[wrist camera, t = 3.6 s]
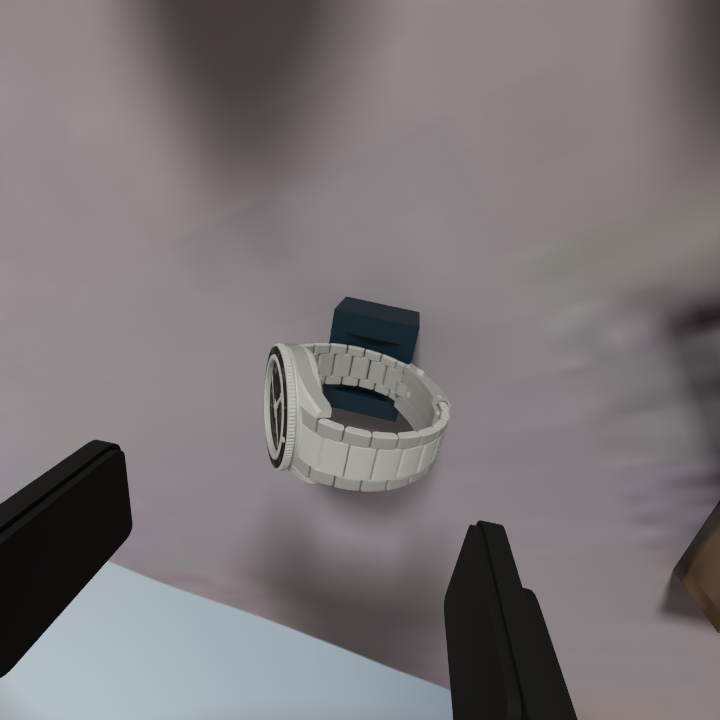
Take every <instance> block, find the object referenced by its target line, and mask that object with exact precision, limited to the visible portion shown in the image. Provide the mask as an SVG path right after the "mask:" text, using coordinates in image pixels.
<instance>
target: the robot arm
mask: <svg viewBox="0 0 720 720" xmlns="http://www.w3.org/2000/svg"><path fill="white" fill-rule="evenodd" d="M131 530H132V516H131V507H130V498H129V489H128V480H127V472H126V463H125V455H124V452H123V451H121V449H120V447H119V445H118V444H114V443H109V442H105V441H100V440H93V441H91V442H89V443H87V444H86V445H84V446H83V447H82V448H80V449H79V450H77V451H76V452H74V453H73V454H72V455H70V456H69V457H67V458H66V459H64V460H63V461H61V462H60V463H59V464H57V465H56V466H54V467H53V468H51V469H50V470H49V471H47V472H46V473H44V474H43V475H41V476H40V477H39V478H37V479H36V480H34V481H33V482H31V483H30V484H28V485H27V486H26V487H24V488H23V489H21V490H20V491H18V492H17V493H16V494H14V495H13V496H11V497H10V498H8V499H7V500H6V501H4V502H3V503H1V504H0V678H1V677H3V676H4V675H6V674H7V673H8V672H9V671H10V670H11V669H12V668H13V667H14V666H15V665H16V664H17V662H18V661H19V660H20V659H21V658H22V657H23V656H24V654H25V653H26V652H27V651H28V650H29V649H30V647H32V645H33V644H34V643H35V642H36V641H37V640H38V639H39V637H40V636H41V635H42V634H43V633H44V632H45V631H46V630H47V628H48V627H49V626H50V625H51V624H52V623H53V622H54V620H55V619H56V618H57V617H58V616H59V615H60V614H61V613H62V611H63V610H64V609H65V608H66V607H67V606H68V605H69V604H70V602H71V601H72V600H73V599H74V598H75V597H76V596H77V595H78V593H79V592H80V591H81V590H82V589H83V588H84V587H85V586H86V584H87V583H88V582H89V581H90V580H91V579H92V578H93V576H94V575H95V574H96V573H97V572H98V571H99V570H100V569H101V567H102V566H103V565H104V564H105V563H106V562H107V561H108V560H109V558H110V557H111V556H112V555H113V554H114V553H115V552H116V551H117V549H118V548H119V547H120V546H121V545H122V544H123V543H124V541H125V540H126V539H127V538H128V536H129V534H130V532H131ZM444 616H445V628H446V640H447V651H448V663H449V675H450V687H451V698H452V710H453V720H577V717H576V714H575V711H574V708H573V705H572V702H571V699H570V696H569V693H568V690H567V687H566V684H565V681H564V678H563V675H562V672H561V669H560V666H559V663H558V660H557V657H556V654H555V651H554V648H553V645H552V642H551V639H550V636H549V633H548V630H547V627H546V624H545V621H544V618H543V615H542V612H541V609H540V606H539V603H538V600H537V598H536V596H535V594H534V593H533V591H532V590H529V589H526V588H522V584H521V581H520V578H519V575H518V571H517V568H516V565H515V561H514V558H513V555H512V551H511V548H510V545H509V542H508V538H507V535H506V532H505V529H504V527H503V526H502V525H500V524H495V523H490V522H485V521H478V522H477V524H476V526H475V525H470V526H469V528H468V531H467V534H466V537H465V539H464V542H463V545H462V548H461V551H460V554H459V557H458V560H457V563H456V566H455V569H454V572H453V574H452V577H451V580H450V583H449V586H448V589H447V592H446V595H445V600H444Z"/></svg>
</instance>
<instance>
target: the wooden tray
mask: <svg viewBox="0 0 720 720" xmlns="http://www.w3.org/2000/svg"><path fill="white" fill-rule="evenodd" d="M674 572H675V573H676V575H677V576H678V577H679V579H680V580H681V582H682V583H683V584H684V586H685V587H686V589H687V590H688V591H689V593H690V594H691V596H692V597H693V598H694V600H695V601H696V603H697V604H698V605H699V607H700V608H701V610H702V611H703V612H704V614H705V615H706V617H707V618H708V619H709V621H710V622H711V624H712V625H713V626H714V628H715V629H716V631H717V632H718V633H720V502H719V504H718V505H717V506H716V508H715V509H714V511H713V512H712V514H711V515H710V517H709V518H708V520H707V521H706V523H705V524H704V526H703V527H702V529H701V530H700V532H699V533H698V535H697V536H696V538H695V539H694V541H693V542H692V544H691V545H690V547H689V548H688V550H687V551H686V552H685V554H684V555H683V557H682V558H681V560H680V561H679V563H678V564H677V566H676V567H675V569H674Z"/></svg>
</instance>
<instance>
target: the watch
mask: <svg viewBox="0 0 720 720" xmlns="http://www.w3.org/2000/svg"><path fill="white" fill-rule="evenodd" d="M418 331H419V312H415V311H411V310H406V309H401V308H397V307H392V306H387V305H383V304H378V303H374V302H369V301H364V300H360V299H355V298H350V297H345V298H344V299H343V301H342V302H341V303H340V304H339V305H338V306H337V307H336V308H335V310H334V317H333V323H332V329H331V336H330V342H329V343H313V344H302V345H296V344H295V343H286V344H278V343H276V344H274V346H273V347H272V349H271V352H270V354H269V358H268V363H267V369H266V378H265V393H264V416H265V431H266V440H267V447H268V452H269V456H270V460H271V462H272V465H273V467H274V468H275V470H277V471H282V470H286V469H288V470H289V471H290V472H291V473H292V474H293V475H295V476H296V477H297V478H299V479H301V480H302V481H304V482H306V483H308V484H315V483H322V484H325V485H329V486H332V485H333V484H334V487H336V488H340V489H346V490H353V491H359V490H361V491H363V492H375V491H384V490H385V489H386V490H393V489H397V488H401V487H404V486H406V485H407V483H408V484H411V483H413V482H415V481H417V480H419V479H420V478H422V477H423V476H424V474H427V473H428V472H429V471H430V470H431V468H432V467H433V465H434V463H435V461H436V458H437V455H438V452H439V449H440V446H441V443H442V439H443V436H444V433H445V430H446V427H447V423H448V420H449V416H450V414H449V411H450V404H451V403H450V402H449V400H448V399H447V397H446V396H445V395H444V393H443V392H442V391H441V389H440V388H439V387H438V386H437V385H436V384H435V382H434V381H433V380H432V379H430V378H429V377H428V376H427V375H426V374H425V372H424V371H423V370H421V369H419V368H417V367H416V366H415V365H413V364H412V363H410V362H411V359H412V355H413V351H414V347H415V343H416V339H417V335H418ZM322 384H323V385H322ZM331 407H335V408H340V409H344V410H348V411H352V412H356V413H361V414H365V415H369V416H373V417H377V418H382V419H386V420H390V421H394V422H395V421H396V417H397V413H398V411H399V412H400V413H401V414H402V415H403V416H404V417H405V419H406V420H407V421H408V422H409V424H410V425H411V426H412V428H413V430H414V431H410V432H399V433H398V435H396V434H394V433H386V432H373V433H372V435H371V432H369V431H367V430H362V429H358V428H354V427H350V426H349V427H346V429H345V431H344V426H343V425H342V424H339V423H336V422H333V421H331V420H328V419H326V418H330V417H331V413H332V409H331ZM343 433H344V436H343ZM349 445H350V448H349ZM348 450H349V453H348ZM347 455H348V458H347ZM346 460H347V463H346ZM345 465H346V467H345ZM344 470H345V472H344ZM335 476H336V477H335ZM334 479H335V483H334Z"/></svg>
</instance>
